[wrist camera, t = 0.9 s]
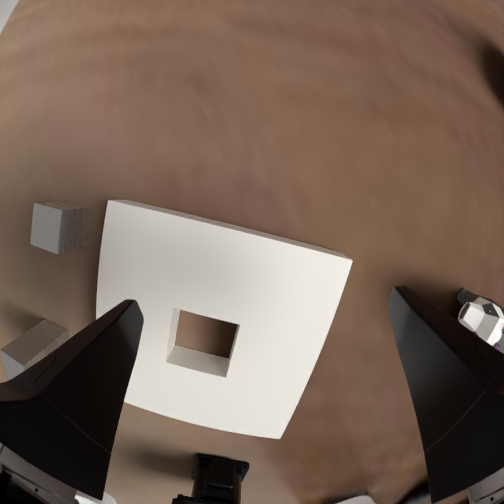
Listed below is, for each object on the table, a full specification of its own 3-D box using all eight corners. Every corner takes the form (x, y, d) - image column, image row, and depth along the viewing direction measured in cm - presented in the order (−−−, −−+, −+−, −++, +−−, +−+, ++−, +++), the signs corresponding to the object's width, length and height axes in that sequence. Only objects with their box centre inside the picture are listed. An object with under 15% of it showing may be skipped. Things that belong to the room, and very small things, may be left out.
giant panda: (496, 315, 23) (546, 345, 14) (473, 354, 24) (518, 392, 15) (436, 260, 22) (506, 289, 12) (407, 311, 23) (466, 360, 13)
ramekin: (125, 500, 31) (119, 516, 26) (111, 506, 32) (106, 520, 28) (84, 476, 30) (76, 491, 25) (75, 484, 31) (68, 497, 27)
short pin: (87, 244, 22) (57, 254, 17) (60, 236, 22) (30, 244, 17) (92, 207, 21) (62, 210, 17) (64, 200, 21) (34, 203, 17)
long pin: (70, 355, 24) (30, 393, 16) (48, 344, 24) (7, 377, 16) (68, 329, 23) (23, 366, 16) (45, 318, 23) (0, 349, 15)
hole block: (277, 418, 25) (279, 439, 22) (110, 375, 24) (98, 391, 21) (340, 252, 22) (352, 260, 19) (125, 199, 21) (108, 200, 18)
